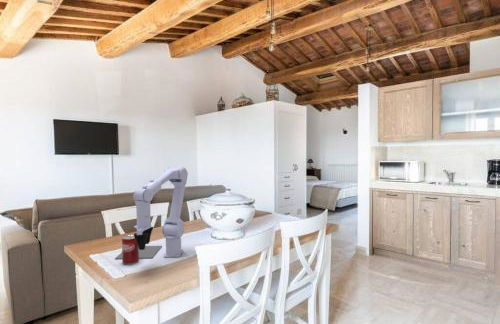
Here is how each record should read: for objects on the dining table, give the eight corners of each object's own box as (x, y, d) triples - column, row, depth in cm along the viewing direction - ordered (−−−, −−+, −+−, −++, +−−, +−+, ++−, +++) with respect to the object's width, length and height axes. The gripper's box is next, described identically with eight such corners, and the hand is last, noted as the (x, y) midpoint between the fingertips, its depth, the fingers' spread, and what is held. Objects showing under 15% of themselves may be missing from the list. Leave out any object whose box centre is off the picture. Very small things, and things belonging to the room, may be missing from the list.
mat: (128, 247, 160) (128, 246, 160) (162, 246, 160) (162, 245, 160) (114, 259, 142) (114, 258, 142) (152, 258, 142) (152, 257, 142)
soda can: (131, 265, 133) (130, 239, 133) (118, 264, 136) (118, 238, 135) (142, 260, 140) (141, 235, 140) (129, 258, 143) (129, 234, 142)
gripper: (138, 212, 135) (139, 241, 135) (128, 220, 120) (129, 252, 121) (154, 212, 135) (155, 241, 136) (146, 219, 121) (147, 251, 121)
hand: (144, 246), depth 128 cm, fingers open, 7 cm apart
